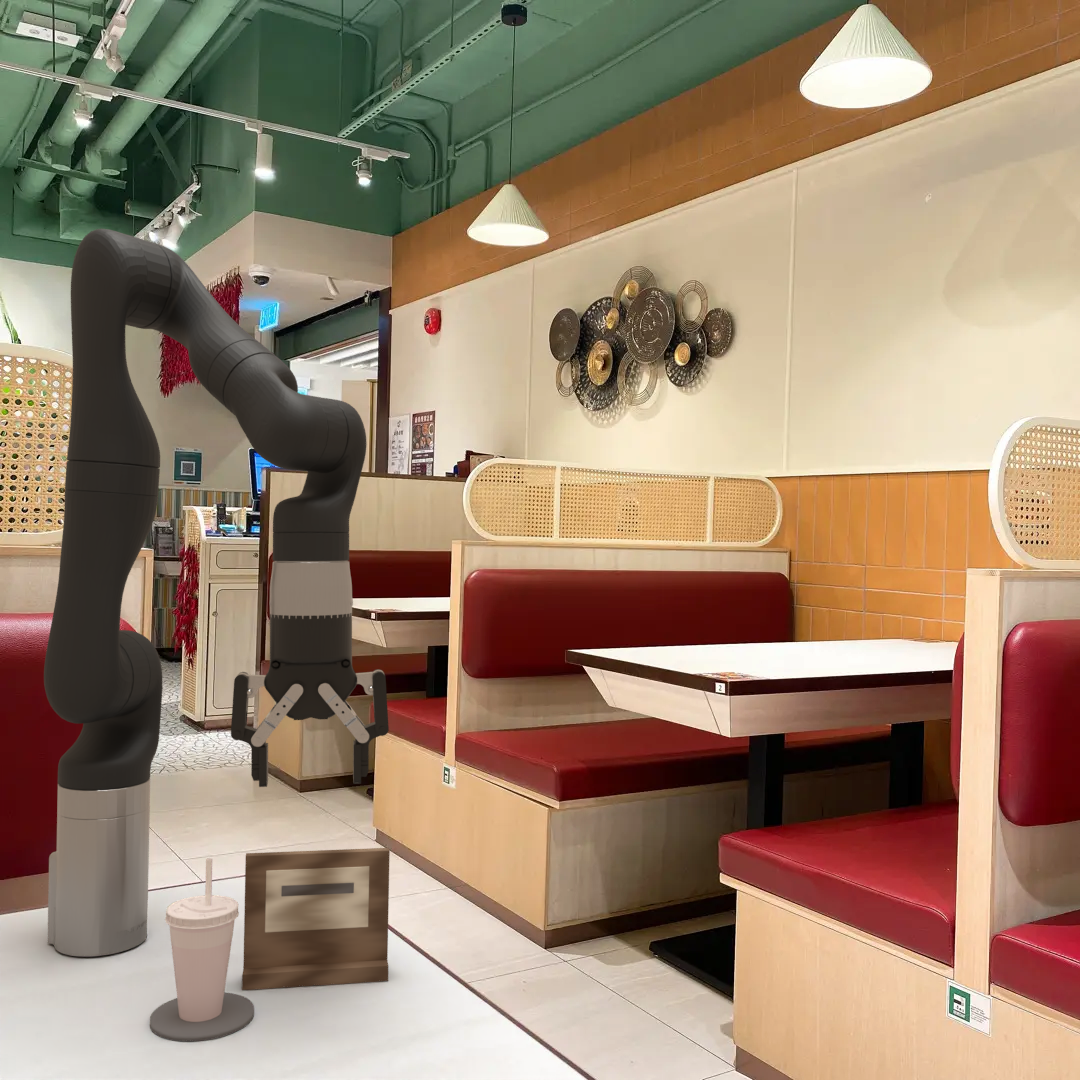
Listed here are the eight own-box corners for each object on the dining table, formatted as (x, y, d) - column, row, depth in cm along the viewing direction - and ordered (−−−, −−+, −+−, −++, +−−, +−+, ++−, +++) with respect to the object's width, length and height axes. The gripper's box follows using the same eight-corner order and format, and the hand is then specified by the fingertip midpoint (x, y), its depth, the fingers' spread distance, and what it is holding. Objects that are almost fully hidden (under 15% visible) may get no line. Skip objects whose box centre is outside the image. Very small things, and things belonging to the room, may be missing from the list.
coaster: (127, 1029, 95) (127, 1023, 95) (196, 990, 103) (196, 985, 103) (209, 1049, 91) (209, 1043, 91) (274, 1007, 99) (274, 1002, 99)
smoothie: (215, 1032, 93) (218, 871, 93) (148, 1024, 94) (151, 866, 95) (249, 1001, 100) (252, 851, 100) (186, 994, 101) (189, 846, 101)
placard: (241, 990, 103) (244, 860, 103) (244, 973, 107) (247, 848, 107) (388, 980, 106) (390, 854, 106) (385, 965, 110) (387, 843, 110)
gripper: (228, 613, 95) (227, 796, 95) (390, 611, 97) (390, 789, 97) (235, 608, 102) (235, 778, 102) (386, 606, 105) (386, 772, 105)
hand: (310, 783), depth 100 cm, fingers open, 8 cm apart
